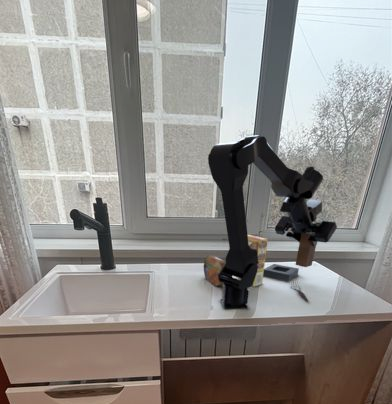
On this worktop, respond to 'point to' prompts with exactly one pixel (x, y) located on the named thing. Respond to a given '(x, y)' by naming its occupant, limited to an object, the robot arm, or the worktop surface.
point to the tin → (213, 269)
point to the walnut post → (305, 251)
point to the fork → (298, 289)
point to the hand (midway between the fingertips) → (309, 244)
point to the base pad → (280, 272)
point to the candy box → (261, 247)
